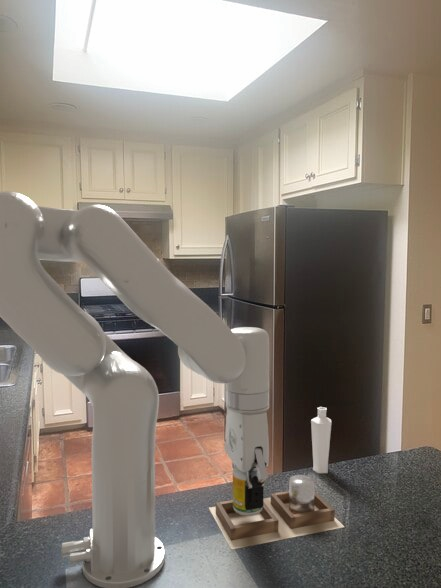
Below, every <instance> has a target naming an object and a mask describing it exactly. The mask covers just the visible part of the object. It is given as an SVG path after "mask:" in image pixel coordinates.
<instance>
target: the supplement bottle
mask: <svg viewBox="0 0 441 588" xmlns="http://www.w3.org/2000/svg"><path fill="white" fill-rule="evenodd" d="M252 467H256V465H255V464H252ZM256 474H257V471H255V472H251V478H253V477H254V476H256ZM245 486H247V480H246V472H242V471H240V470H239V469H238V468H237V466H235V467H234V469H233V468H232V500H233V508H234V510H235V511H236V512H237V513H238V514H241V515H244V516H252V515H256V514H258V513H260V512H261V510H262V508H263V507H262V508H257V509H252V510H246V508H245Z"/></svg>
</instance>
